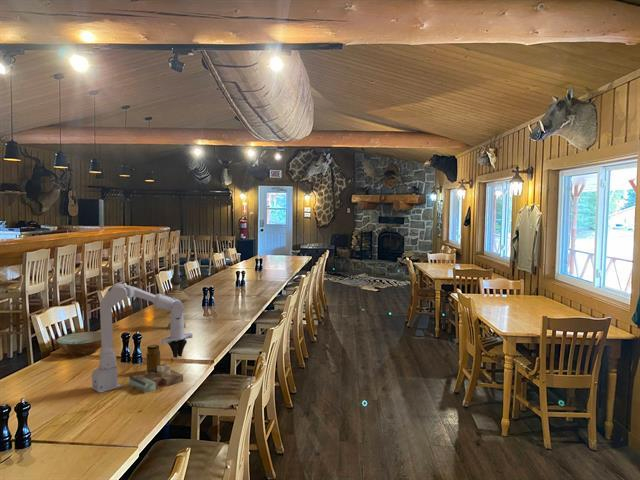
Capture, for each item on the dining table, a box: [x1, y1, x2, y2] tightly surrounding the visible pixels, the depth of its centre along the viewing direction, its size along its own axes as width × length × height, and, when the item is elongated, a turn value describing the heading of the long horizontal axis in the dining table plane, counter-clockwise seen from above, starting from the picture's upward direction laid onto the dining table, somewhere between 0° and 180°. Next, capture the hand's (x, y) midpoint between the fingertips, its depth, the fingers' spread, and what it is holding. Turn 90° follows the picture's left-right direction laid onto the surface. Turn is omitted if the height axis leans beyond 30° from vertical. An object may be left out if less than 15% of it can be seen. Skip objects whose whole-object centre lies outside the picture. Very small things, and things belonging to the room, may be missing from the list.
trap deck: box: [128, 369, 184, 394], centre depth 208 cm, size 18×13×4 cm
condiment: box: [143, 344, 161, 375], centre depth 224 cm, size 7×8×12 cm
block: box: [156, 363, 171, 377], centre depth 211 cm, size 4×4×4 cm
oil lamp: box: [165, 264, 189, 331], centre depth 306 cm, size 15×15×40 cm
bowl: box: [55, 330, 102, 356], centre depth 254 cm, size 25×25×8 cm
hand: (177, 356), depth 216 cm, fingers closed
